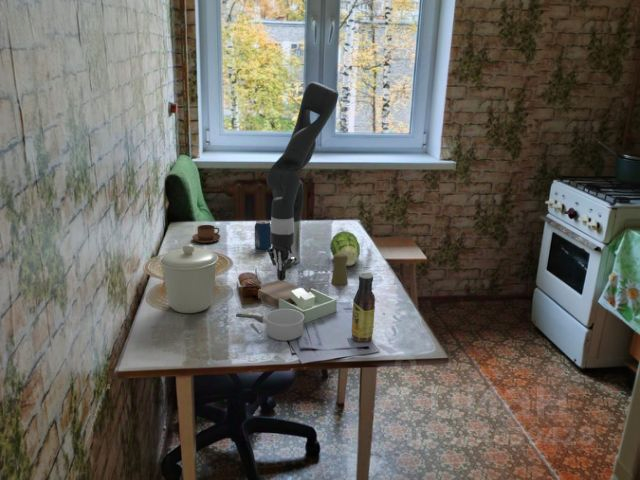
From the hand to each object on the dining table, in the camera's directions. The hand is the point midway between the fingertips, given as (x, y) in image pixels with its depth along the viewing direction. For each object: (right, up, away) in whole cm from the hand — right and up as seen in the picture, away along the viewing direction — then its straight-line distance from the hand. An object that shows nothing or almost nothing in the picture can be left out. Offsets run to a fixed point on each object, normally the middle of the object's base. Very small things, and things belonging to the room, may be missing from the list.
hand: (281, 279), depth 190 cm
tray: (+9, -10, -7) cm, 15 cm away
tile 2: (+8, -6, -7) cm, 12 cm away
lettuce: (+23, +4, +37) cm, 43 cm away
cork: (+20, -3, +17) cm, 26 cm away
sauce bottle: (+25, -16, -23) cm, 38 cm away
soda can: (-11, +9, +51) cm, 53 cm away
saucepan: (-2, -14, -22) cm, 26 cm away
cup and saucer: (-37, +13, +60) cm, 71 cm away
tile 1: (+6, -6, -4) cm, 10 cm away
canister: (-29, -9, -6) cm, 30 cm away
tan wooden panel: (0, -6, +3) cm, 7 cm away
